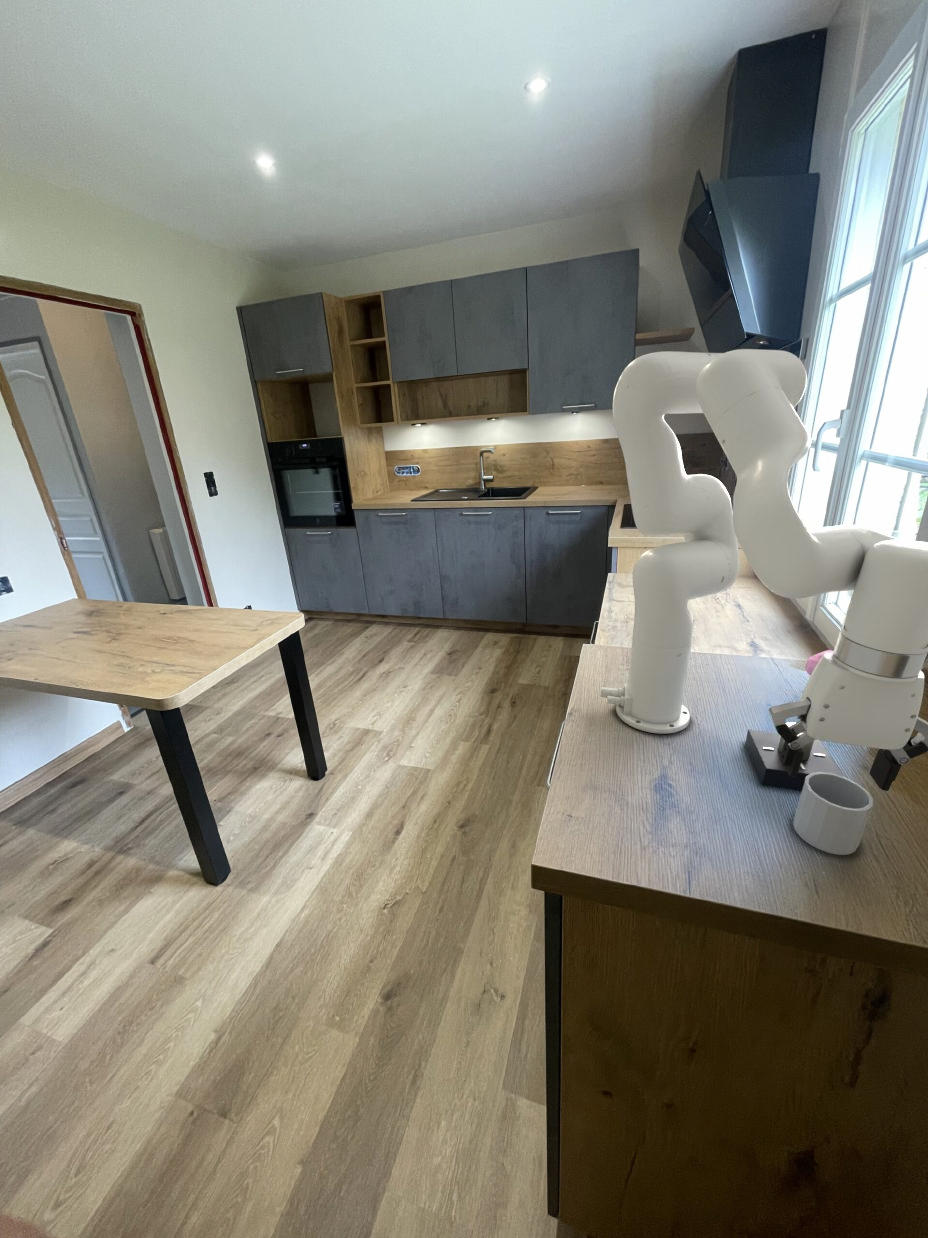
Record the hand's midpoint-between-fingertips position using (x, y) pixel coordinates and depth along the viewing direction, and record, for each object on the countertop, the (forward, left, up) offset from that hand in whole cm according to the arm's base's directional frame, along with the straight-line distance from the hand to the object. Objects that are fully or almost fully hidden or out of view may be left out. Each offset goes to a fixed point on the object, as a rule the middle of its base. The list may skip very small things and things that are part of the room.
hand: (832, 775), depth 60 cm
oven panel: (+1, +12, -9) cm, 15 cm away
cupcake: (+14, +35, -9) cm, 39 cm away
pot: (+1, -1, -9) cm, 9 cm away
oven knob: (+1, +12, -5) cm, 13 cm away
